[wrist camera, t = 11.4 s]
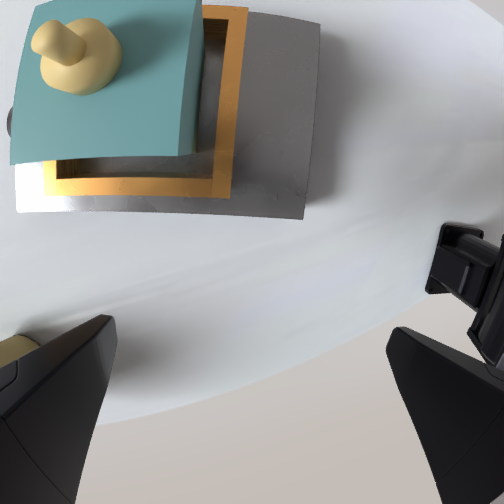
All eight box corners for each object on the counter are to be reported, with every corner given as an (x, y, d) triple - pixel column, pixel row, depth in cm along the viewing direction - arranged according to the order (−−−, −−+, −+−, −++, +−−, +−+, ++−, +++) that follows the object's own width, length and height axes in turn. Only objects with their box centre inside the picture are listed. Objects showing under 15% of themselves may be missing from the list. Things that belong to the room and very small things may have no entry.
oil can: (205, 54, 13) (198, -74, 3) (196, 153, 15) (159, 159, 5) (106, 59, 12) (-5, -20, 2) (97, 154, 14) (-45, 177, 4)
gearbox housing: (305, 39, 15) (340, 4, 10) (290, 209, 19) (320, 234, 14) (40, 47, 13) (-5, 26, 7) (27, 202, 17) (-22, 224, 11)
